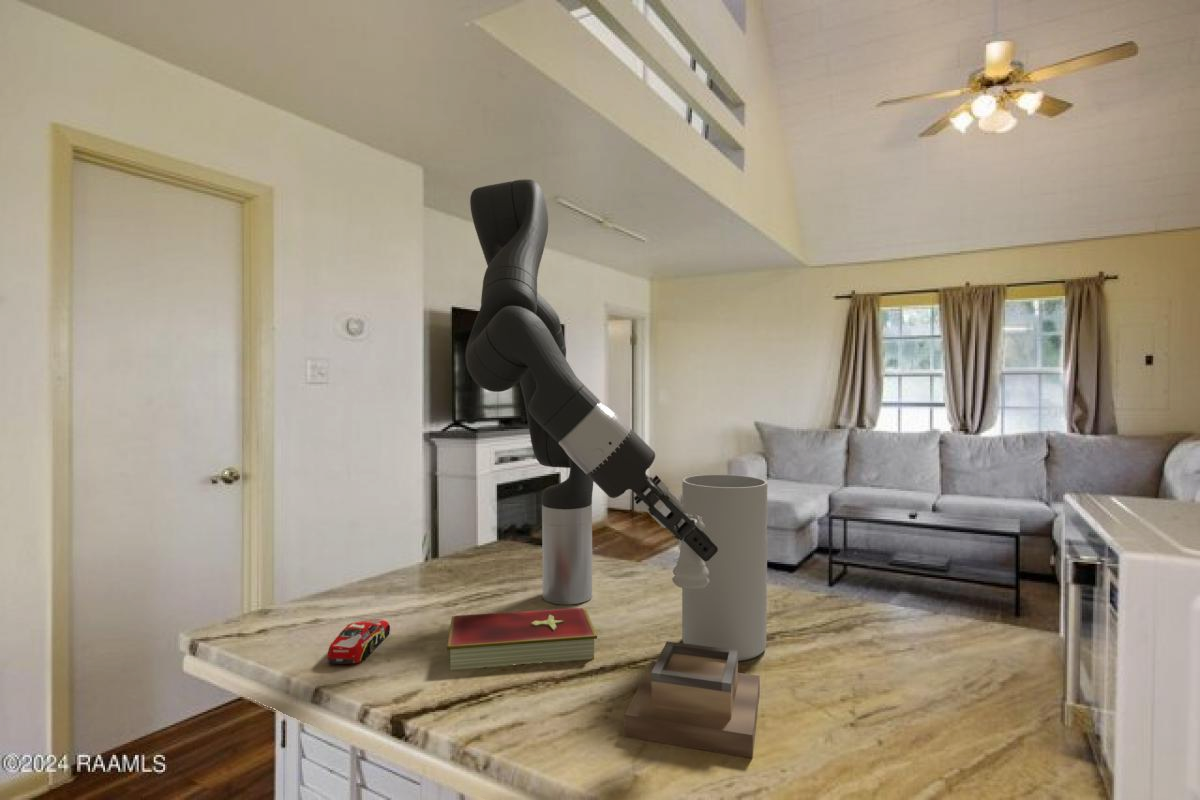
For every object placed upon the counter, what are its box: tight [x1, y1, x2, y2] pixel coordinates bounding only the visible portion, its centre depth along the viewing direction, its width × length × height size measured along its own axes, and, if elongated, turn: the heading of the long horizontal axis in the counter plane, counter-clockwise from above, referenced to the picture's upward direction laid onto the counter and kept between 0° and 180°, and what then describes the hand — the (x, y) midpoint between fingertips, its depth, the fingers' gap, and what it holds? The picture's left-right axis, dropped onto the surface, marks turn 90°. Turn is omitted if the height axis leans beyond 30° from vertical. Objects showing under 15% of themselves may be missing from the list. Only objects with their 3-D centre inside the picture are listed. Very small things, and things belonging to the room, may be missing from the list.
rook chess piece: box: [671, 515, 710, 589], centre depth 74 cm, size 4×4×8 cm
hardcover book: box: [446, 607, 598, 671], centre depth 94 cm, size 12×21×4 cm, turn 100°
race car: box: [327, 618, 391, 665], centre depth 94 cm, size 13×5×4 cm, turn 176°
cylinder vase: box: [681, 474, 768, 662], centre depth 94 cm, size 12×12×25 cm
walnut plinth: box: [624, 640, 761, 759], centre depth 75 cm, size 14×14×6 cm
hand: (708, 550), depth 74 cm, fingers closed on rook chess piece, 3 cm apart
